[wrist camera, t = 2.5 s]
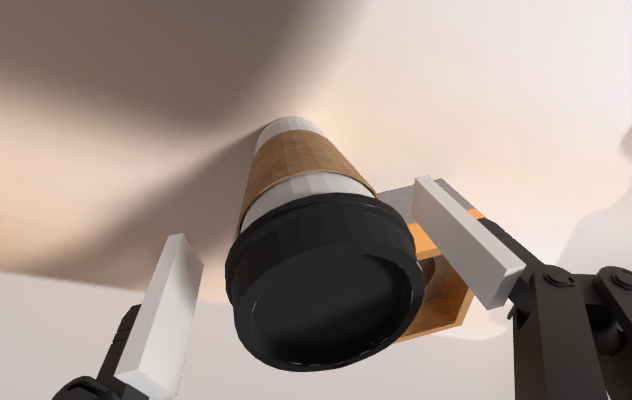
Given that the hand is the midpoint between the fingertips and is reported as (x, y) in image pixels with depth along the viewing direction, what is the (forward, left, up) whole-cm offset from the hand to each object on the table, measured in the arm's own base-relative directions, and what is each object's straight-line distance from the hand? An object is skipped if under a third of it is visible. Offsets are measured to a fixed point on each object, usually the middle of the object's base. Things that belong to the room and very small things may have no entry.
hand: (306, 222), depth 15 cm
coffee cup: (0, 0, -9) cm, 9 cm away
